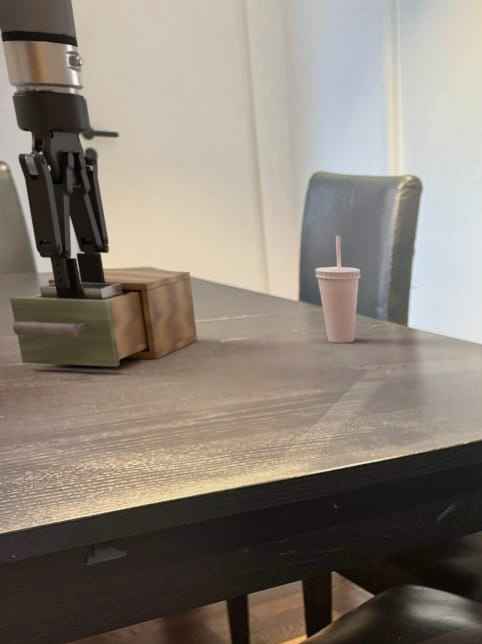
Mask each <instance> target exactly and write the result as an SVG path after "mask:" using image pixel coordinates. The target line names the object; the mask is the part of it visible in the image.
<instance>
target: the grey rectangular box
mask: <svg viewBox="0 0 482 644" xmlns="http://www.w3.org/2000/svg"><path fill="white" fill-rule="evenodd" d="M80 284H81V290H82V296H83V299H93V300H105V299H109V298H113V297H116V296H120V295H123V292H122V285H121V284H119V283H90V282H80ZM39 292H40V294H41V297H42V298H58V297H57V292H56V286H55V283H54V284H49V283H48V284H45V285H41V286H39Z"/></svg>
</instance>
